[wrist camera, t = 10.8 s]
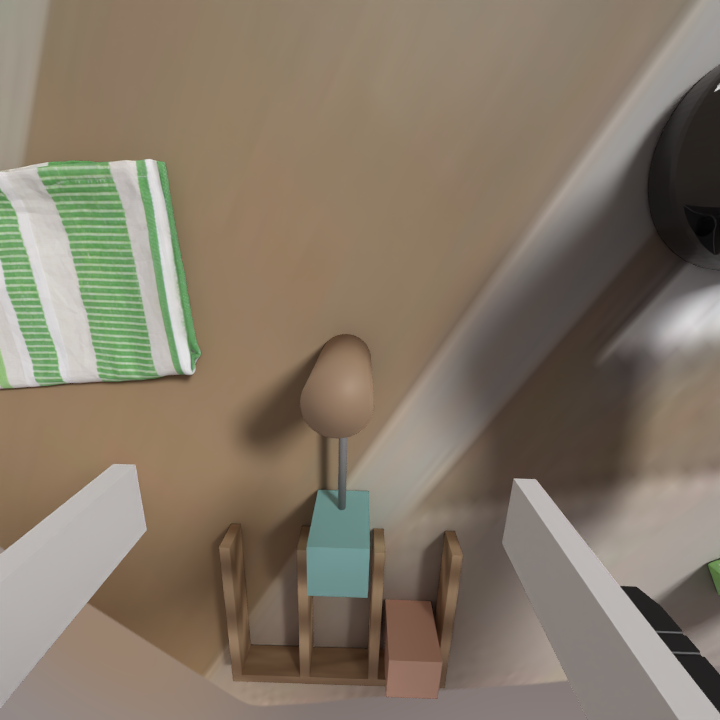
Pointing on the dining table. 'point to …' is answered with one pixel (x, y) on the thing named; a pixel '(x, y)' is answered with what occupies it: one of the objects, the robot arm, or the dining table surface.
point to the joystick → (339, 507)
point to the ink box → (715, 573)
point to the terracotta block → (411, 650)
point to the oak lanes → (305, 658)
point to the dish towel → (91, 275)
